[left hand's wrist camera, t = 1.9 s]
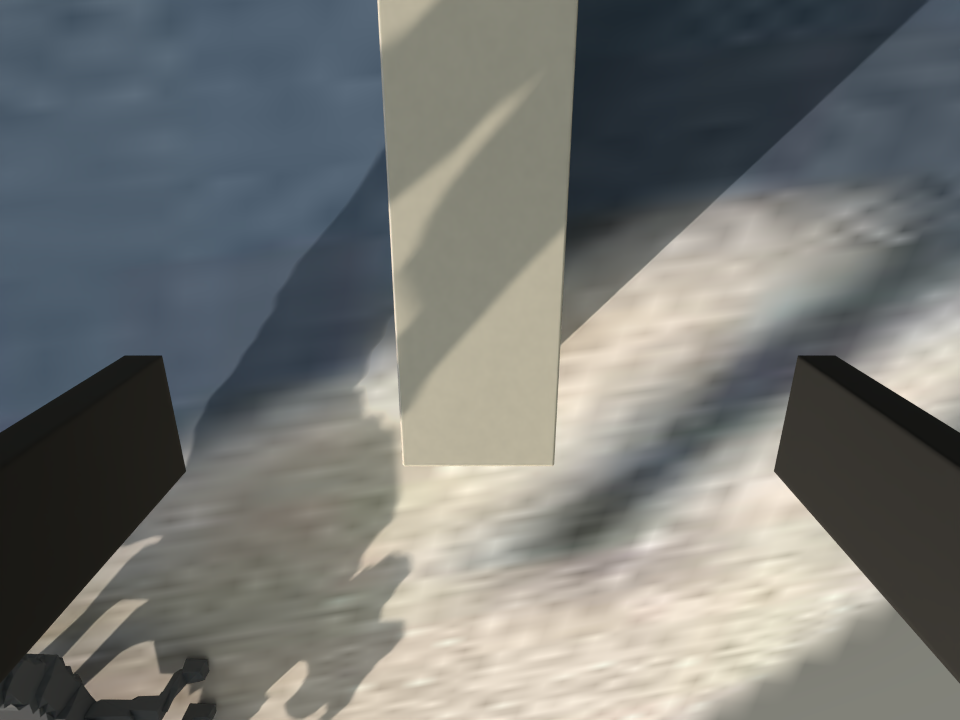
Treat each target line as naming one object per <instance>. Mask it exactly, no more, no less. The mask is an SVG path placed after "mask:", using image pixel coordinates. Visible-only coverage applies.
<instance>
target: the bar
mask: <svg viewBox="0 0 960 720" xmlns="http://www.w3.org/2000/svg"><path fill="white" fill-rule="evenodd" d="M577 14H578V0H378V18H379V37H380V55H381V73H382V92H383V110H384V129H385V147H386V166H387V184H388V202H389V221H390V239H391V258H392V276H393V294H394V313H395V331H396V350H397V368H398V386H399V405H400V423H401V442H402V460H403V466H553V465H554V456H555V437H556V417H557V398H558V379H559V360H560V340H561V321H562V302H563V283H564V264H565V244H566V225H567V206H568V187H569V168H570V148H571V129H572V110H573V91H574V71H575V52H576V33H577Z"/></svg>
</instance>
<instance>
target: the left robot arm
mask: <svg viewBox="0 0 960 720" xmlns="http://www.w3.org/2000/svg"><path fill="white" fill-rule="evenodd" d="M185 472H186V469H185V464H184V459H183V454H182V450H181V445H180V440H179V435H178V430H177V426H176V421H175V416H174V411H173V406H172V401H171V397H170V392H169V387H168V382H167V377H166V373H165V368H164V363H163V358H162V356H123V357H122V358H120V359H119V360H117V361H115V362H114V363H112V364H110V365H109V366H107V367H106V368H104V369H102V370H101V371H99V372H98V373H96V374H94V375H93V376H91V377H89V378H88V379H86V380H85V381H83V382H81V383H80V384H78V385H77V386H75V387H73V388H72V389H70V390H69V391H67V392H65V393H64V394H62V395H60V396H59V397H57V398H56V399H54V400H52V401H51V402H49V403H48V404H46V405H44V406H43V407H41V408H39V409H38V410H36V411H35V412H33V413H31V414H30V415H28V416H27V417H25V418H23V419H22V420H20V421H18V422H17V423H15V424H14V425H12V426H10V427H9V428H7V429H6V430H4V431H2V432H1V433H0V683H1V682H2V681H3V680H4V678H5V677H6V676H7V675H8V674H9V673H10V672H11V670H12V669H13V668H14V667H15V666H16V665H17V664H18V662H19V661H20V660H21V659H22V658H23V657H24V656H25V654H26V653H27V652H28V651H29V650H30V649H31V648H32V646H33V645H34V644H35V643H36V642H37V641H38V640H39V638H40V637H41V636H42V635H43V634H44V633H45V632H46V630H47V629H48V628H49V627H50V626H51V625H52V624H53V623H54V621H55V620H56V619H57V618H58V617H59V616H60V615H61V613H62V612H63V611H64V610H65V609H66V608H67V607H68V605H69V604H70V603H71V602H72V601H73V600H74V599H75V597H76V596H77V595H78V594H79V593H80V592H81V591H82V589H83V588H84V587H85V586H86V585H87V584H88V583H89V581H90V580H91V579H92V578H93V577H94V576H95V575H96V573H97V572H98V571H99V570H100V569H101V568H102V567H103V565H104V564H105V563H106V562H107V561H108V560H109V559H110V557H111V556H112V555H113V554H114V553H115V552H116V551H117V549H118V548H119V547H120V546H121V545H122V544H123V543H124V541H125V540H126V539H127V538H128V537H129V536H130V535H131V533H132V532H133V531H134V530H135V529H136V528H137V527H138V525H139V524H140V523H141V522H142V521H143V520H144V519H145V517H146V516H147V515H148V514H149V513H150V512H151V511H152V510H153V508H154V507H155V506H156V505H157V504H158V503H159V502H160V500H161V499H162V498H163V497H164V496H165V495H166V494H167V492H168V491H169V490H170V489H171V488H172V487H173V486H174V484H175V483H176V482H177V481H178V480H179V479H180V478H181V476H182V475H183V474H184V473H185ZM774 472H775V473H776V474H777V475H778V476H779V478H780V479H781V480H782V481H783V482H784V483H785V484H786V486H787V487H788V488H789V489H790V490H791V491H792V492H793V494H794V495H795V496H796V497H797V498H798V499H799V500H800V502H801V503H802V504H803V505H804V506H805V507H806V508H807V510H808V511H809V512H810V513H811V514H812V515H813V516H814V517H815V519H816V520H817V521H818V522H819V523H820V524H821V525H822V527H823V528H824V529H825V530H826V531H827V532H828V533H829V535H830V536H831V537H832V538H833V539H834V540H835V541H836V543H837V544H838V545H839V546H840V547H841V548H842V549H843V551H844V552H845V553H846V554H847V555H848V556H849V557H850V559H851V560H852V561H853V562H854V563H855V564H856V565H857V567H858V568H859V569H860V570H861V571H862V572H863V573H864V575H865V576H866V577H867V578H868V579H869V580H870V581H871V583H872V584H873V585H874V586H875V587H876V588H877V589H878V591H879V592H880V593H881V594H882V595H883V596H884V597H885V599H886V600H887V601H888V602H889V603H890V604H891V605H892V607H893V608H894V609H895V610H896V611H897V612H898V613H899V615H900V616H901V617H902V618H903V619H904V620H905V621H906V623H907V624H908V625H909V626H910V627H911V628H912V629H913V630H914V632H915V633H916V634H917V635H918V636H919V637H920V638H921V640H922V641H923V642H924V643H925V644H926V645H927V646H928V648H929V649H930V650H931V651H932V652H933V653H934V654H935V656H936V657H937V658H938V659H939V660H940V661H941V662H942V664H943V665H944V666H945V667H946V668H947V669H948V670H949V672H950V673H951V674H952V675H953V676H954V677H955V678H956V680H957V681H958V682H959V683H960V433H959V432H958V431H956V430H954V429H953V428H951V427H950V426H948V425H946V424H945V423H943V422H942V421H940V420H938V419H937V418H935V417H933V416H932V415H930V414H929V413H927V412H925V411H924V410H922V409H921V408H919V407H917V406H916V405H914V404H912V403H911V402H909V401H908V400H906V399H904V398H903V397H901V396H900V395H898V394H896V393H895V392H893V391H891V390H890V389H888V388H887V387H885V386H883V385H882V384H880V383H879V382H877V381H875V380H874V379H872V378H871V377H869V376H867V375H866V374H864V373H862V372H861V371H859V370H858V369H856V368H854V367H853V366H851V365H850V364H848V363H846V362H845V361H843V360H841V359H840V358H838V357H837V356H798V358H797V363H796V368H795V373H794V377H793V382H792V387H791V392H790V397H789V401H788V406H787V411H786V416H785V421H784V426H783V430H782V435H781V440H780V445H779V450H778V454H777V459H776V464H775V469H774Z"/></svg>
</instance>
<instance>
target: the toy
mask: <svg viewBox="0 0 960 720" xmlns="http://www.w3.org/2000/svg"><path fill="white" fill-rule="evenodd" d="M208 672H209V667H208V661H207V659H186V662H185V664H184V667H183V669H180V670H179V671H177V672H176V673H174V675H173V676H172V678H171V679H170V681H169V683H168V684H167V686H166V687H165V689H164V691H163V692H161V694H160V695H159V696H138V697H136V698H134V699H133V700H99V701H97V702H96V701H95V700H94V698H93V697H92V696H91V695H90V694H89V692H88V691H87V690H86V688H85V687H84V685H83V684H82V681H81V679H80V677H79V675H78V674H73V672H72V670H71V667H70V666H65V664H64V661H63V658H59V656H58V655H44V654H25V656H24V657H23V658H22V659H21V660H20V661H19V662H18V664H17V665H16V666H15V667H14V668H13V669H12V670H11V672H10V673H9V674H8V675H7V676H6V677H5V678H4V680H3V681H2V682H1V683H0V720H162V719H163V717H164V715H165V713H166V712H167V711H168V709H169V707H170V705H171V703H172V701H173V699H174V698H175V696H176V695H177V694H178V693H179V692H180V691H181V690H182V689H183V687H184V686H185V685H186V684H189V683H194V682H199V681H202V680H205V678H206V676H207V674H208ZM215 713H216V706H215V704H192V703H190V705H189V707H188V709H187V711H186V713H185V715H184V716H183V718H182V720H213V717H214V715H215Z"/></svg>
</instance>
